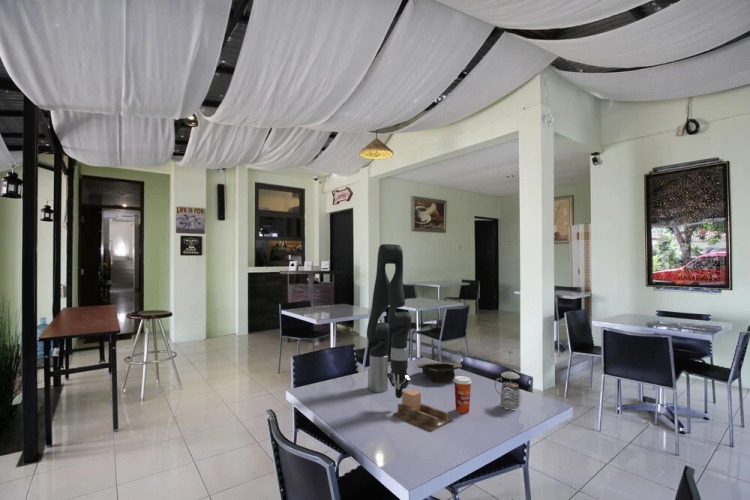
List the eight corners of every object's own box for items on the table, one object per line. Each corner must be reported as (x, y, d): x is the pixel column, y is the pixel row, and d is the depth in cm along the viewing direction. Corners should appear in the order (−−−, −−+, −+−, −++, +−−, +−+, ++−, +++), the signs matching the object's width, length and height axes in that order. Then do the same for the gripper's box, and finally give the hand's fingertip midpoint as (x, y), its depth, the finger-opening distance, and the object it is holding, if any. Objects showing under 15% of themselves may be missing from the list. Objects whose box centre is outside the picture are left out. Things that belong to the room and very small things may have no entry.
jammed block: (402, 410, 160) (402, 391, 160) (409, 407, 163) (409, 389, 163) (412, 415, 155) (413, 395, 155) (420, 411, 159) (420, 392, 159)
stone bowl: (443, 388, 191) (442, 369, 192) (407, 380, 209) (406, 363, 210) (471, 377, 208) (469, 360, 208) (435, 371, 226) (434, 355, 227)
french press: (524, 411, 163) (524, 353, 164) (496, 409, 165) (496, 352, 166) (519, 403, 173) (520, 348, 173) (493, 400, 175) (493, 347, 176)
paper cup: (458, 415, 158) (458, 381, 159) (450, 408, 166) (450, 376, 166) (475, 413, 160) (475, 380, 161) (466, 406, 168) (466, 375, 168)
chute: (393, 415, 157) (393, 406, 157) (414, 406, 167) (414, 397, 167) (431, 431, 143) (431, 421, 143) (452, 421, 152) (452, 411, 153)
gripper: (382, 356, 167) (382, 395, 166) (404, 362, 157) (404, 403, 157) (394, 353, 172) (393, 391, 172) (416, 359, 163) (416, 399, 162)
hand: (398, 397), depth 164 cm, fingers closed
